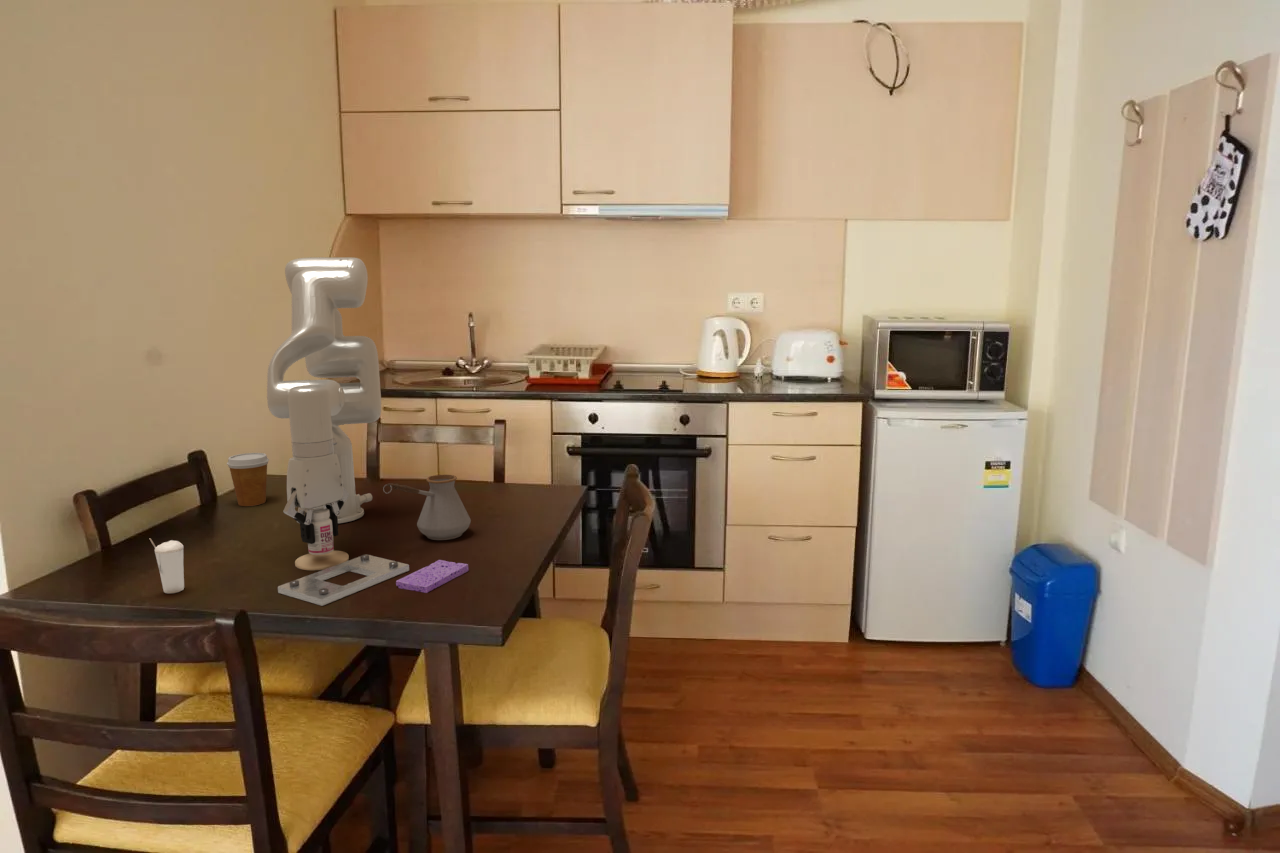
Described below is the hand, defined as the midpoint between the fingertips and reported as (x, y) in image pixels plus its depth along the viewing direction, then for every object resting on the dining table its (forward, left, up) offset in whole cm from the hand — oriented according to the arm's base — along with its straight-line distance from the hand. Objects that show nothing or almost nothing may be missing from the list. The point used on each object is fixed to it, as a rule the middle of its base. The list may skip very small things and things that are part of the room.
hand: (320, 537), depth 165 cm
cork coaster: (0, 0, -5) cm, 5 cm away
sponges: (-4, +26, -6) cm, 27 cm away
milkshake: (+24, -11, -5) cm, 27 cm away
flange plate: (+5, +13, -5) cm, 15 cm away
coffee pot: (-20, +9, -5) cm, 22 cm away
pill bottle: (0, 0, -3) cm, 3 cm away
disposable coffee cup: (-20, -52, -5) cm, 56 cm away
